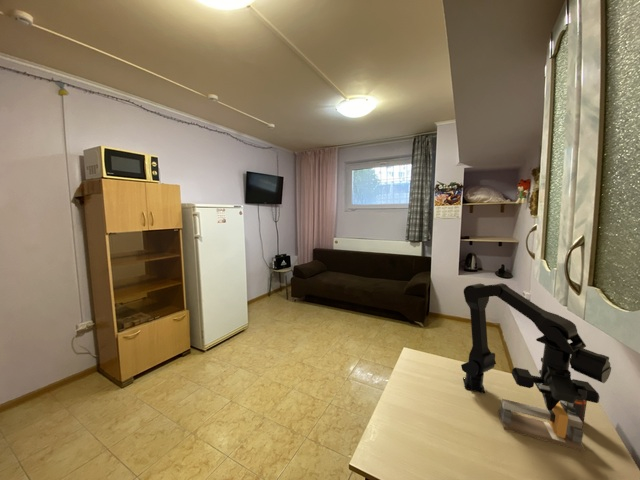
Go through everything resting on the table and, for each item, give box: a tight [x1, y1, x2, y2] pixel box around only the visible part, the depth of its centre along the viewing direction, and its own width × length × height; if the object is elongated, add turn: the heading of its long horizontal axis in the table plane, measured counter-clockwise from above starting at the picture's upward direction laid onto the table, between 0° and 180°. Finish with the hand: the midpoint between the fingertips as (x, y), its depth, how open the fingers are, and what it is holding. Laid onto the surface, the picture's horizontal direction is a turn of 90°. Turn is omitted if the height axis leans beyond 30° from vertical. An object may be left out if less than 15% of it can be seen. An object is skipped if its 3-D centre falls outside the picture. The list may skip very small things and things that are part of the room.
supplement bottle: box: [559, 400, 588, 425], centre depth 84 cm, size 6×6×11 cm
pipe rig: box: [497, 398, 585, 452], centre depth 80 cm, size 7×19×7 cm, turn 68°
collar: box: [546, 401, 569, 438], centre depth 78 cm, size 7×2×7 cm, turn 158°
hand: (548, 409), depth 78 cm, fingers closed
